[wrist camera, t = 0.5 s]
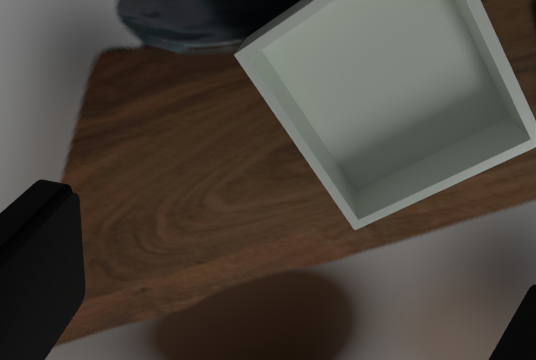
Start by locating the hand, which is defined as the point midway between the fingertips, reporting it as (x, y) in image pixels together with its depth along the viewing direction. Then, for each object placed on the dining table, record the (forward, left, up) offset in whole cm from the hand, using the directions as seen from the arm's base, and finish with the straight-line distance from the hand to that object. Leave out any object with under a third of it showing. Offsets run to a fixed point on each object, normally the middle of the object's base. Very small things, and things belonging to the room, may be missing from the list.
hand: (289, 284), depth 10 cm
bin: (-2, +8, -34) cm, 35 cm away
